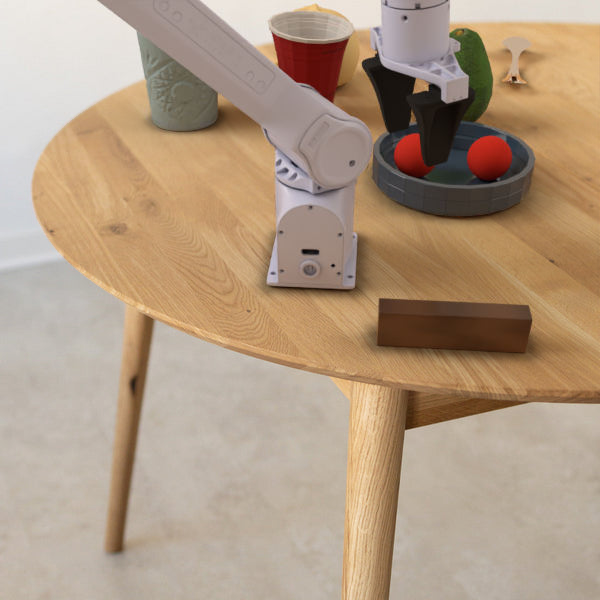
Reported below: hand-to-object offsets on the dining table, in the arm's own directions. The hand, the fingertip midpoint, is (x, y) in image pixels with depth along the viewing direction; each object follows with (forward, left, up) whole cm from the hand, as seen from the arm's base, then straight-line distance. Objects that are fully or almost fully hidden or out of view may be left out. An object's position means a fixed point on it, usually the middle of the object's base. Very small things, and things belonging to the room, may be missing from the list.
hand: (416, 145), depth 73 cm
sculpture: (+40, +12, -9) cm, 43 cm away
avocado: (+27, -7, -9) cm, 30 cm away
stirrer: (+48, -17, -9) cm, 51 cm away
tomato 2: (+11, -9, -6) cm, 16 cm away
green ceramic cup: (+26, +28, -9) cm, 40 cm away
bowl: (+11, -5, -9) cm, 15 cm away
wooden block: (-18, -3, -9) cm, 20 cm away
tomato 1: (+11, -1, -6) cm, 13 cm away
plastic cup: (+29, +12, -9) cm, 33 cm away
